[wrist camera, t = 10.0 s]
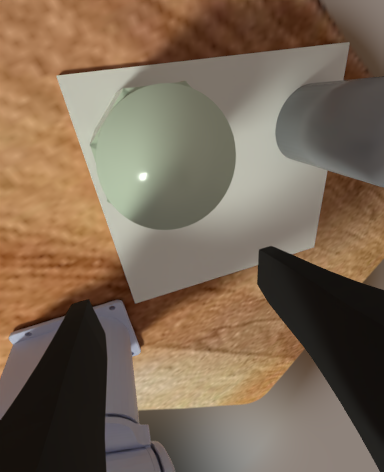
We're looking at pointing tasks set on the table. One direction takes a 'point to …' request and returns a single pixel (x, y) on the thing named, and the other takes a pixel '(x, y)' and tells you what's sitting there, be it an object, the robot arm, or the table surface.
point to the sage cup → (164, 155)
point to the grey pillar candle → (336, 127)
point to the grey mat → (245, 174)
